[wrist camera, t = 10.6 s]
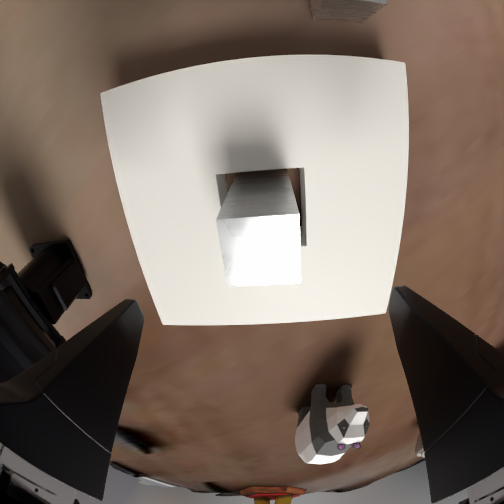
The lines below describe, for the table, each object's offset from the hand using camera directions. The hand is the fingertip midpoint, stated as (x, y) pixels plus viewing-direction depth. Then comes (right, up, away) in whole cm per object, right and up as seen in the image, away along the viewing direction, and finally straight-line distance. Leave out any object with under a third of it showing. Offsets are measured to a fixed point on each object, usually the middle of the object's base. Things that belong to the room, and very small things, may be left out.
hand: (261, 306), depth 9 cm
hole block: (0, +6, +10) cm, 12 cm away
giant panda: (+9, -16, +22) cm, 29 cm away
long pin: (0, +6, +10) cm, 12 cm away
